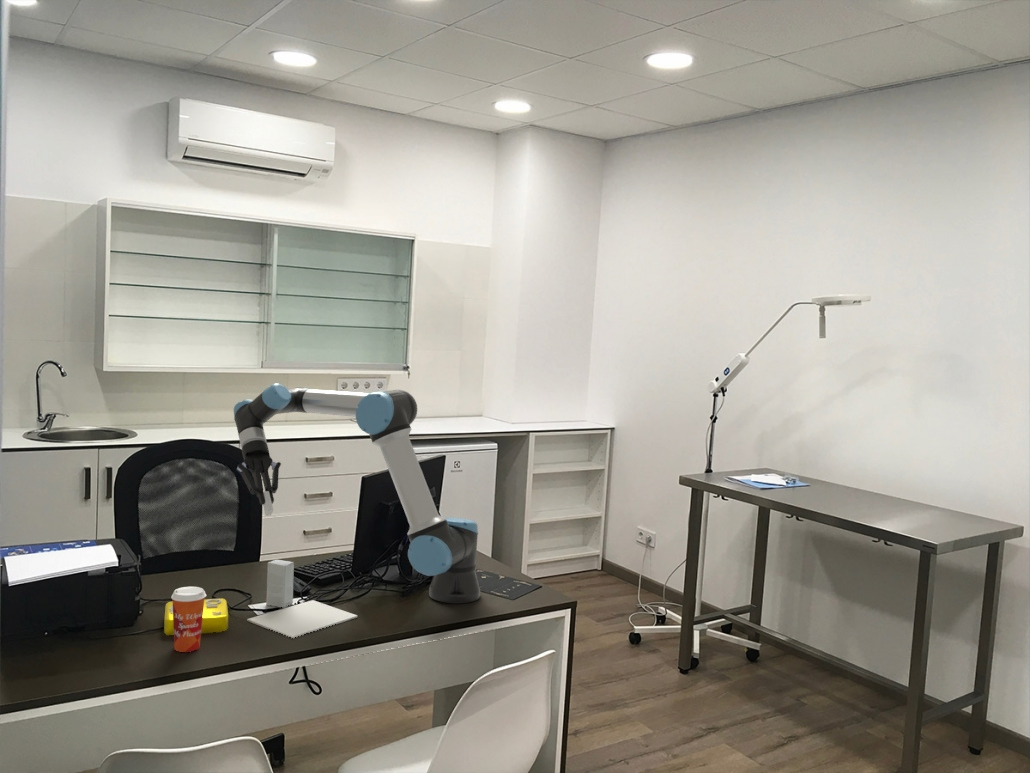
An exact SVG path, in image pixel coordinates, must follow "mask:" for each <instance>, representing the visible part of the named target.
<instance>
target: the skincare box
mask: <svg viewBox="0 0 1030 773" xmlns="http://www.w3.org/2000/svg"><path fill="white" fill-rule="evenodd" d="M294 569H295V562H294V561H290V560H289V561H288V560H282V559H274V560H271V561H268V562H267V570H266V571H267V575H266V606H270V605H272V606H271V607H275V606H278V607H277V608H281V607H282V608H281V609H284V608H287V607H289V606H291V605H293V604H292V603H294V571H295V570H294ZM290 604H291V605H290ZM288 605H289V606H288Z"/></svg>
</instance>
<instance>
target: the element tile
mask: <svg viewBox="0 0 1030 773" xmlns="http://www.w3.org/2000/svg"><path fill="white" fill-rule="evenodd" d="M164 611H165V612H164V619H163V620H164V624H163V625H164V627H163V628H164V629H163V634H164V633H165V634H166V636H169V635H174V628H173V600H172V601H168V602H167V603H166V604H165V609H164ZM227 629H229V609H228V602H227V600H226V599H225V598H207V599H206V598H204V607H203V618H202V629H201V635H202V634H214V633H213V632H216V633H223V632H222V631H224V632H226V631H228V630H227ZM225 630H226V631H225ZM165 634H164V635H165Z"/></svg>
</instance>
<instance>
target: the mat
mask: <svg viewBox="0 0 1030 773" xmlns="http://www.w3.org/2000/svg"><path fill="white" fill-rule="evenodd" d="M356 618H358V615H357V614H354V613H351V612H348V611H345V610H343V609H340V608H337V607H334V606H331V605H328V604H325V603H322V602H319V601H316V600H314V599H312V600H308V601H305V602H302V603H301V602H300V603H299V604H295V605H290V606H287V607H285V608H279V609H278V610H274V611H270V612H267V613H263V614H260V615H257V616H254V617H250V618H247V619H246V621H247V622H249V623H252V624H253V625H257V626H259V627H261V628H265V629H267V630H269V629H270V630H269V631H271V630H273V631H272V632H274V631H275V632H274V633H276V632H278V633H277V634H279V633H281V634H283V635H282V636H284V635H286V636H285V637H287V636H288V637H287V638H289V637H291V638H290V639H292V638H293V639H296V638H299V637H302V636H305V635H304V634H306V633H309V634H311V633H310V632H312V633H314V632H313V631H315V632H317V630H318V631H320V630H319V629H321V630H323V629H322V628H324V629H327V628H329V626H330V627H332V625H333V626H336V625H339V624H342V623H344V622H347V621H351V620H353V619H356ZM335 624H336V625H335ZM326 627H327V628H326ZM281 634H280V635H281ZM301 635H302V636H301ZM306 635H307V634H306ZM298 636H299V637H298ZM295 637H296V638H295Z"/></svg>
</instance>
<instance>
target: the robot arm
mask: <svg viewBox="0 0 1030 773" xmlns="http://www.w3.org/2000/svg"><path fill="white" fill-rule="evenodd" d="M233 407H234V408H233V419H234V422H235V425H236V426H235V427H236V430H237V434H238V438H239V439H238V440H239V444H240V448H241V453H242V458H243V461H242V463H238V465H237V468H236V472H238V473H239V474H240V476H241V477H242V479H243V481H244V483H245V485H246V488H247V489H248V491H249V492H250V494H251V495H253V496H254V495H256V497H257V498H258V501H259V504H260V506H261V505H263V509H264V510H263V511H264V513H265V516H272V514H273V512H274V507H273V504H274V502H275V498H274V494H276V493H277V490H278V489H279V472H280V471H279V469H280V467H281V466H282V463H281V461H278V462H276V461H274V460H273V458H272V457H271V456H270V450H269V447H268V446H269V445H268V443H267V442H268V441H267V437H266V434H265V430H264V424H265V423H266V422H268V421H270V419H272V418H273V417H275V415H279V414H280V415H281V414H290V413H303V414H304V413H305V414H308V413H311V414H320V415H332V416H341V417H342V416H343V417H351V418H352V417H355V420H356V423H357V425H358V427H359V429H360V430H361V431H363V432H365V434H368V435H369V437H370V440H371V442H372V444H373V445H375V446H377V447H379V448H380V450H381V453H382V456H383V459H384V461H385V464H386V466H387V469H388V472H389V474H390V477H391V479H392V482H393V485H394V487H395V490H396V492H397V495H398V498H399V500H400V504H401V505H402V508H403V510H404V513H405V516H406V519H407V522H408V524H409V530H408V532H407V537H408V539H409V542H410V543H409V546H408V547H409V548H408V550H407V558H408V560H409V563H410V565H411V566H412V568H413V569H414V570H415V571H417V572H418V573H419V574H421V575H423V576H427V577H432V580H431V582H430V585H429V588H428V595H429V597H430V598H431V599H433V600H434V601H437V602H440V603H445V604H446V603H448V604H468V603H469V604H470V603H472V602H475V601H478V600H479V599H480V598H481V588H480V585H479V580H478V577H477V572H476V566H477V565H476V563H477V549H478V536H479V532H478V530H479V527H478V523H477V522H476V521H474V520H471V519H466V518H459V517H444V516H441V515H440V514H439V512H438V510H437V509H438V508H437V507H436V504H435V502H434V499H433V496H432V494H431V492H430V491H431V490H430V488H429V486H428V484H427V481H426V479H425V476H424V472H423V470H422V468H421V465H420V463H419V460H418V458H417V454H416V452H415V450H414V446H413V445H412V442H411V439H410V437H409V436H410V433H411V431H412V428H411V427H412V426H411V424H413V423H414V421H415V419H416V417H417V415H418V404H417V401H416V399H415V397H414V396H413V395H412V394H410V393H409V392H408V391H406V390H402V389H393V390H392V389H391V390H377V391H374V392H357V391H356V392H355V391H340V390H326V389H314V388H310V389H309V388H308V387H295V388H287V387H286V386H284V385H283V384H280V383H278V382H277V383H272V384H271V385H270V386H268V387H266V388H265V389H264V390H263V391H262V392H261V393H260V394H259V395H258V396H257V397H255V398H254V399H244V400H242V401H239V402H237V403H236V404H235V405H234V406H233ZM270 468H271V470H272V475H271V476H272V480H271V477H270V474H269V469H270ZM249 472H251V474H250V473H249ZM251 475H252V476H251ZM263 486H264V487H263Z"/></svg>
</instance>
